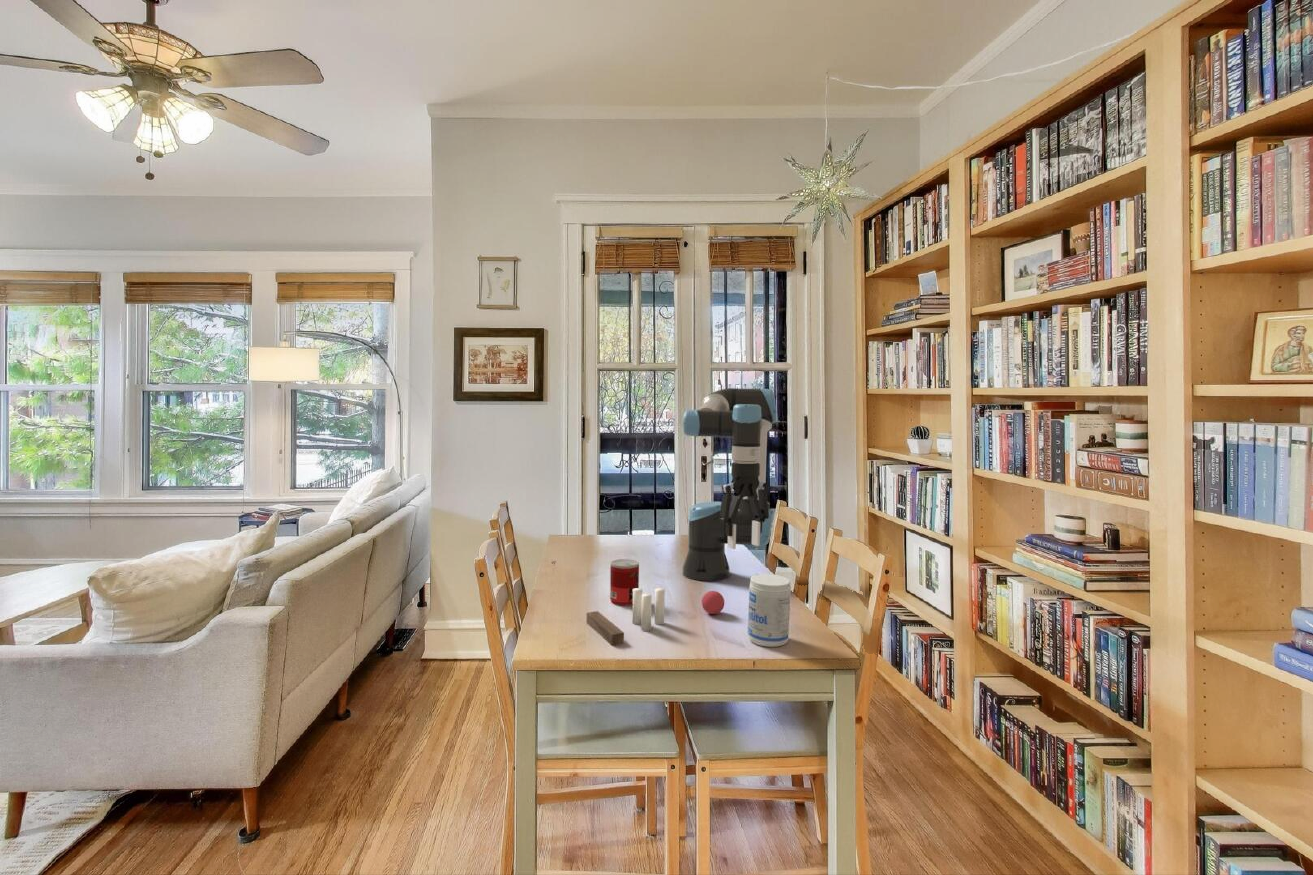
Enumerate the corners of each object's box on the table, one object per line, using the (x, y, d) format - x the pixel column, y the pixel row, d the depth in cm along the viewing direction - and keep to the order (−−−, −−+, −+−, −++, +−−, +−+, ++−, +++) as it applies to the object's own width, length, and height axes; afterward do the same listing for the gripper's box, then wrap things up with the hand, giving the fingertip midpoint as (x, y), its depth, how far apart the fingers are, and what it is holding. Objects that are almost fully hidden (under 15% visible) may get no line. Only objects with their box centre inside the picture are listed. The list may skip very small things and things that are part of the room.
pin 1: (639, 620, 159) (639, 587, 158) (643, 623, 156) (644, 590, 156) (630, 621, 157) (631, 588, 157) (634, 624, 155) (635, 591, 155)
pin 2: (648, 626, 154) (648, 593, 154) (652, 630, 152) (653, 596, 151) (639, 628, 153) (639, 594, 152) (643, 631, 151) (644, 597, 150)
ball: (716, 608, 168) (716, 586, 168) (728, 615, 163) (729, 592, 163) (697, 611, 166) (697, 589, 165) (709, 618, 160) (709, 596, 160)
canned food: (635, 606, 169) (635, 567, 168) (606, 604, 170) (607, 565, 170) (641, 598, 176) (641, 559, 176) (614, 595, 178) (614, 558, 177)
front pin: (661, 620, 159) (661, 587, 158) (665, 623, 157) (666, 590, 156) (652, 622, 158) (653, 589, 157) (657, 625, 155) (657, 591, 155)
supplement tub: (739, 640, 146) (741, 579, 145) (760, 629, 154) (762, 571, 153) (776, 652, 140) (778, 587, 139) (796, 639, 147) (798, 578, 146)
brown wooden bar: (597, 620, 158) (597, 611, 158) (623, 643, 144) (623, 632, 144) (586, 622, 156) (586, 612, 156) (611, 645, 142) (612, 634, 142)
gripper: (722, 464, 158) (720, 553, 160) (784, 462, 168) (782, 545, 169) (706, 461, 165) (704, 546, 166) (767, 459, 174) (765, 540, 176)
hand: (743, 546), depth 168 cm, fingers open, 7 cm apart
